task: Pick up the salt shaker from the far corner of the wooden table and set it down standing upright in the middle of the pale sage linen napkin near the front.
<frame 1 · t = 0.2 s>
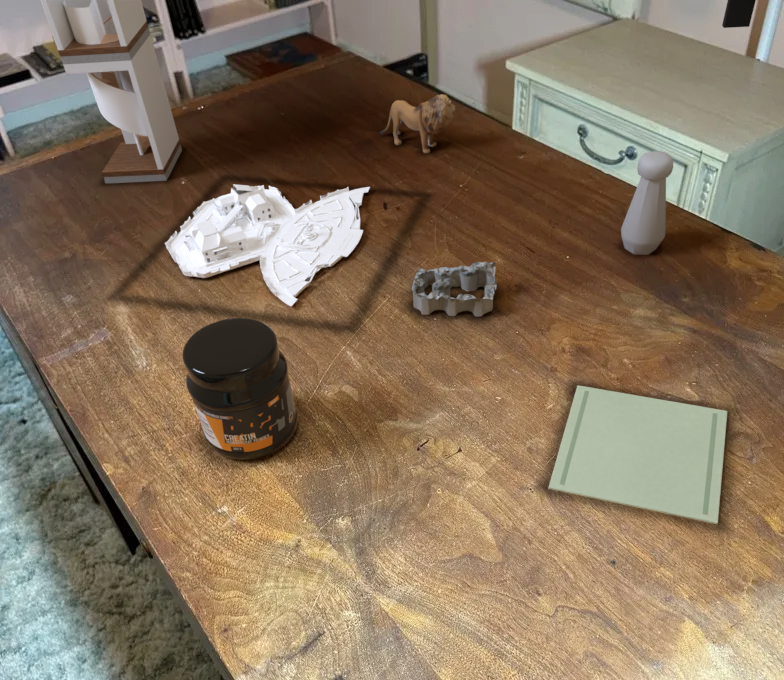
hand: (720, 6, 89), 28 cm above the table, tool pointing down, fingers open, 13 cm apart
lion figurine: (418, 145, 132), on the table
napkin: (640, 449, 79), on the table
egg carton: (454, 302, 100), on the table
salt shaker: (639, 248, 105), on the table
architectural model: (280, 244, 113), on the table
tiered tower model: (145, 167, 134), on the table
supplement container: (253, 431, 85), on the table
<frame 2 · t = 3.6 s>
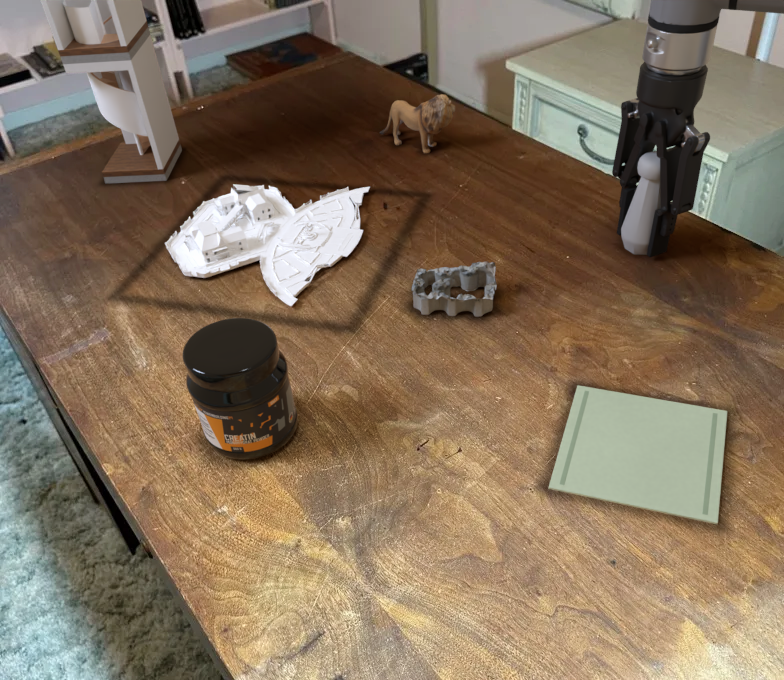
hand: (641, 241, 105), 1 cm above the table, tool pointing down, fingers closed on salt shaker, 6 cm apart
salt shaker: (639, 248, 105), on the table, touching gripper
everything else where it was.
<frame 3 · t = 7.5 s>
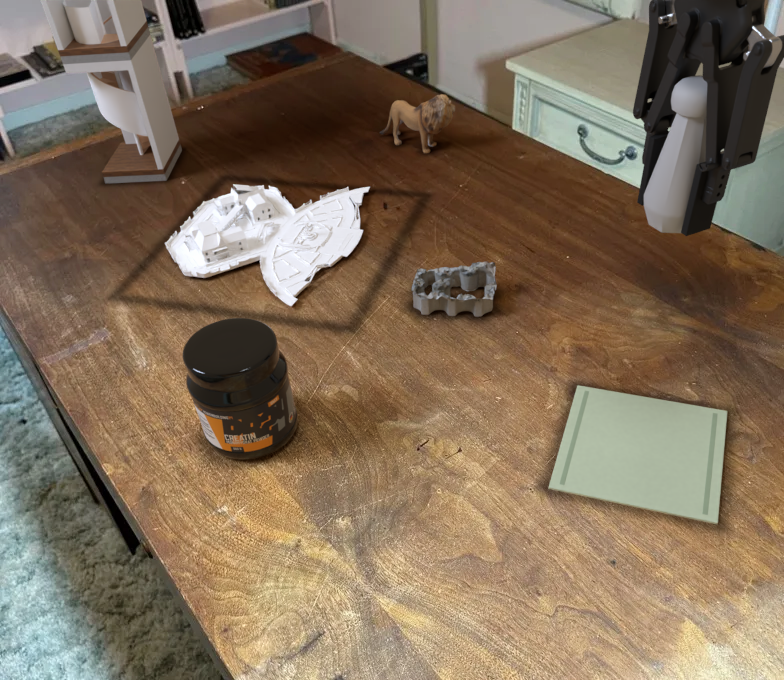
hand: (672, 214, 72), 20 cm above the table, tool pointing down, fingers closed on salt shaker, 6 cm apart
salt shaker: (670, 224, 73), point 19 cm above the table, touching gripper
everything else where it was.
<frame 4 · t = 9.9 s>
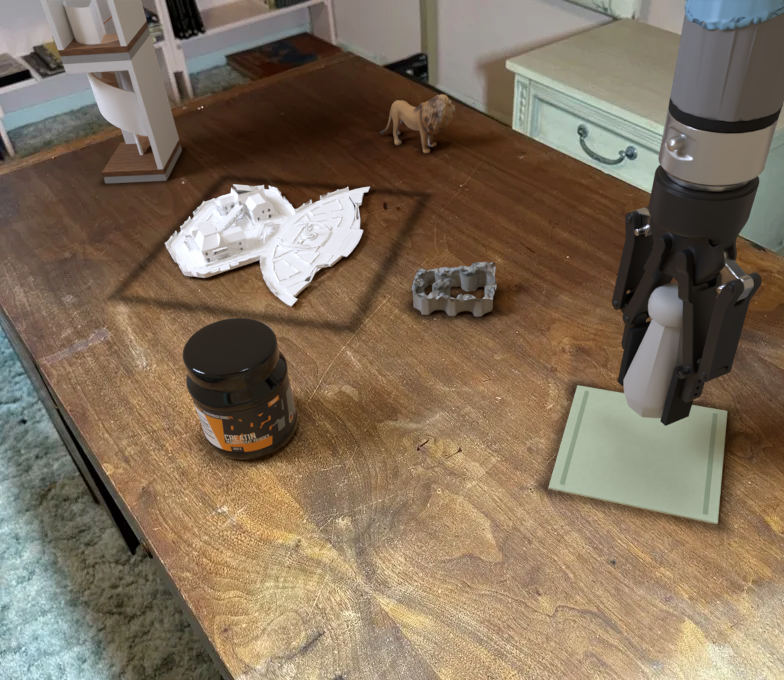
hand: (652, 398, 74), 7 cm above the table, tool pointing down, fingers closed on salt shaker, 6 cm apart
salt shaker: (649, 406, 75), point 6 cm above the table, touching gripper
everything else where it was.
when the fingers open (1 cm above the table, at t = 11.6 s): salt shaker stays where it is, resting on napkin.
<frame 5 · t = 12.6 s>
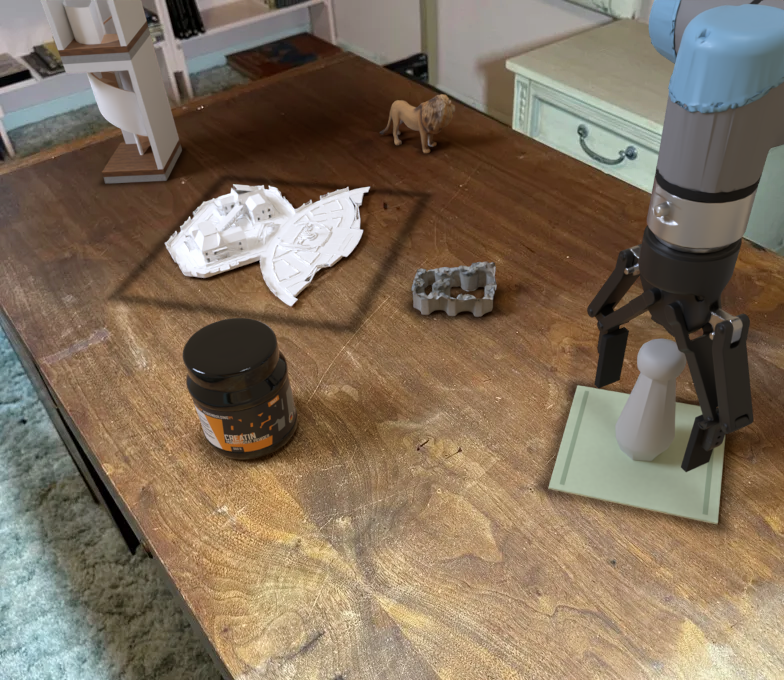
hand: (648, 421, 76), 4 cm above the table, tool pointing down, fingers open, 13 cm apart
salt shaker: (640, 449, 79), resting on napkin
everything else where it was.
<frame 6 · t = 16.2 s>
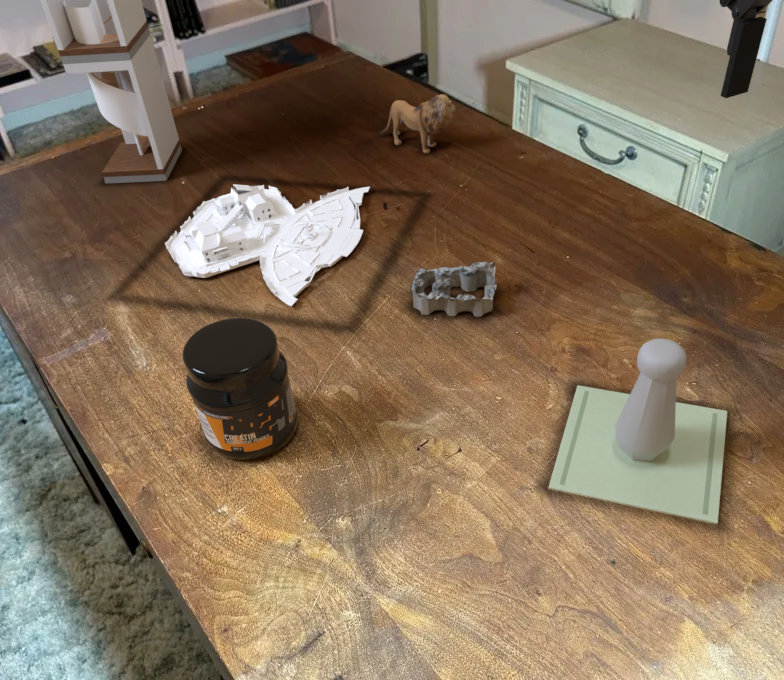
nothing on the table moved.
at the end: salt shaker inside the target area on the napkin (0.1 cm from its centre), point 0.1 cm above the napkin's base; salt shaker tilted 0°; the gripper is holding nothing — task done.
